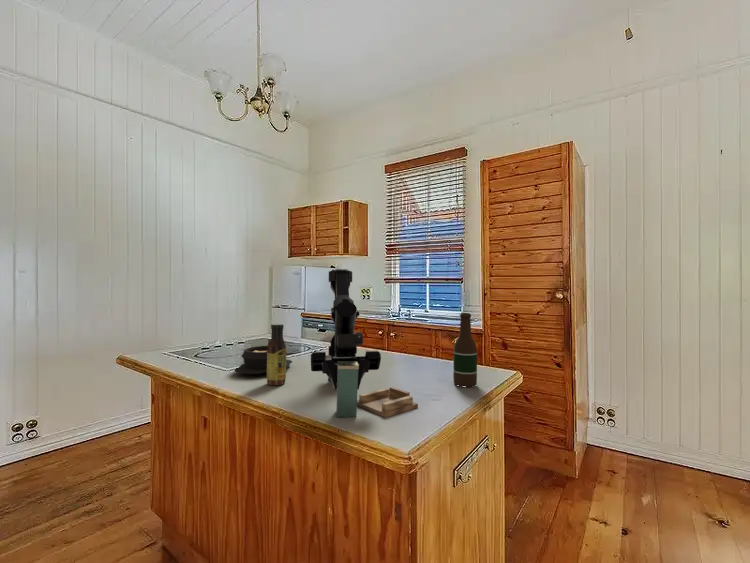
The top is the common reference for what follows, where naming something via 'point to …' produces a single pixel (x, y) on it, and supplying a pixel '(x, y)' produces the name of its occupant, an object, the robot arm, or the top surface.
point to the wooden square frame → (387, 401)
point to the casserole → (256, 361)
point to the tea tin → (347, 389)
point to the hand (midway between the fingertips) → (346, 389)
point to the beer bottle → (465, 355)
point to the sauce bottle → (276, 357)
